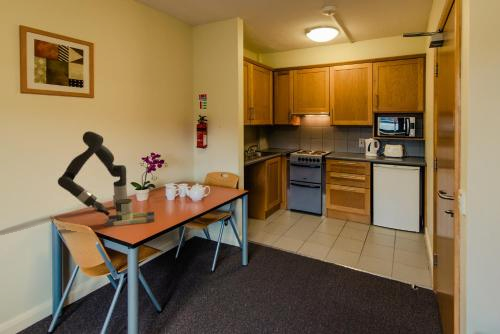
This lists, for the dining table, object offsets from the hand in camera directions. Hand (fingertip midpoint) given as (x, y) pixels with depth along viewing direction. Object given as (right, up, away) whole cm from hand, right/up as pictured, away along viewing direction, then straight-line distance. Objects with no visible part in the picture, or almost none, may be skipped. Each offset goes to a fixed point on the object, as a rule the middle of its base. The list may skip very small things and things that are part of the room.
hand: (109, 214), depth 198 cm
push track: (+13, -5, +5) cm, 15 cm away
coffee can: (+9, -5, +4) cm, 11 cm away
